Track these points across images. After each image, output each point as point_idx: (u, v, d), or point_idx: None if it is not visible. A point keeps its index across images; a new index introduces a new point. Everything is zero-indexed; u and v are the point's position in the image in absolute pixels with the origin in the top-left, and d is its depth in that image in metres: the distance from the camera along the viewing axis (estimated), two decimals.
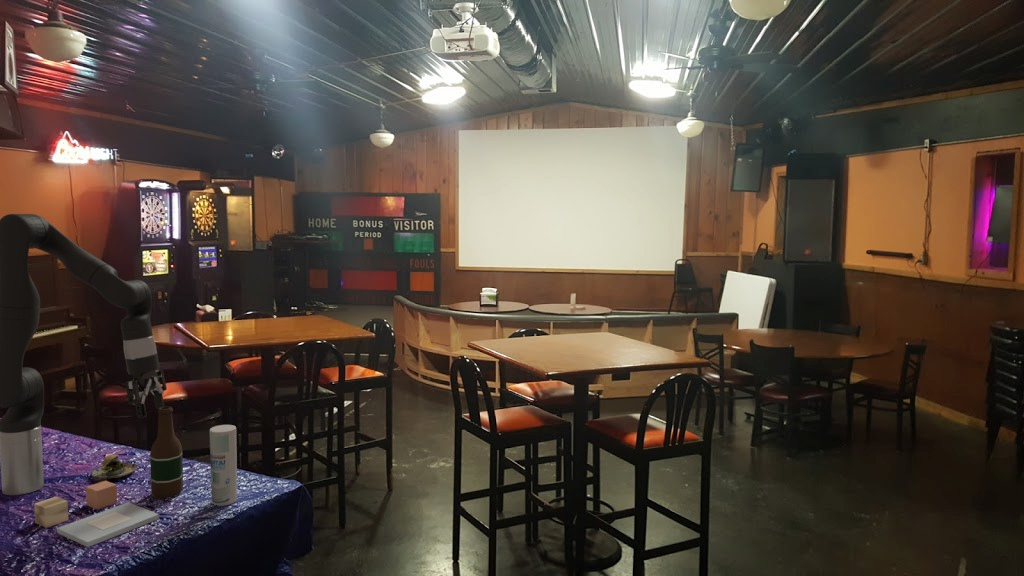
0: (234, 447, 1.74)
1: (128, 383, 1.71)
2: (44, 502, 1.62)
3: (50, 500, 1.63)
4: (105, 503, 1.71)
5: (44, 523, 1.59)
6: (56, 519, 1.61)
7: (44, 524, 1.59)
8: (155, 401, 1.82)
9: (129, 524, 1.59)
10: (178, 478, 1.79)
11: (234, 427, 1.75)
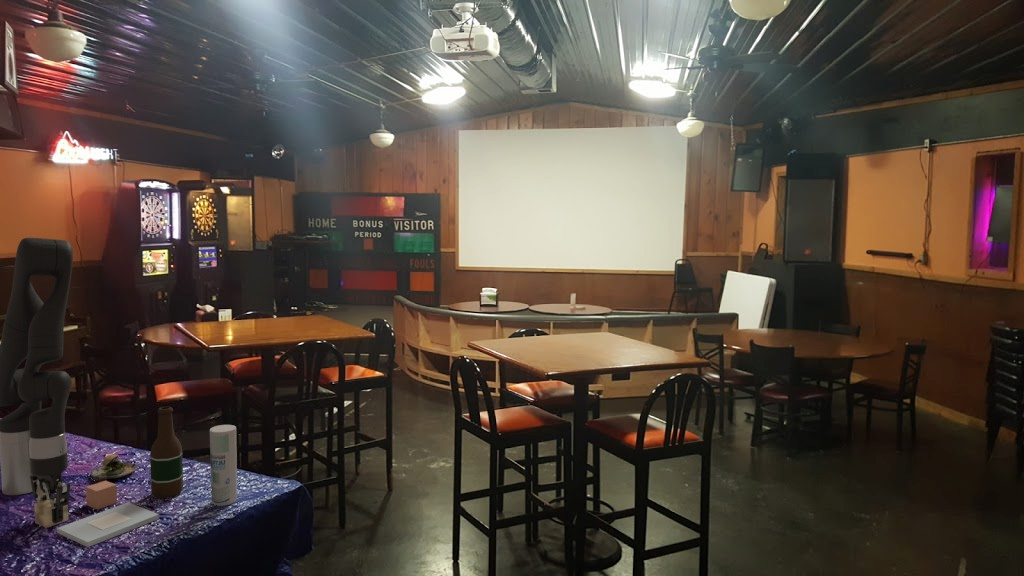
0: (234, 447, 1.74)
1: None
2: (44, 502, 1.62)
3: None
4: (105, 503, 1.71)
5: (44, 523, 1.59)
6: None
7: (43, 524, 1.59)
8: None
9: (129, 524, 1.59)
10: (178, 478, 1.79)
11: (234, 427, 1.75)
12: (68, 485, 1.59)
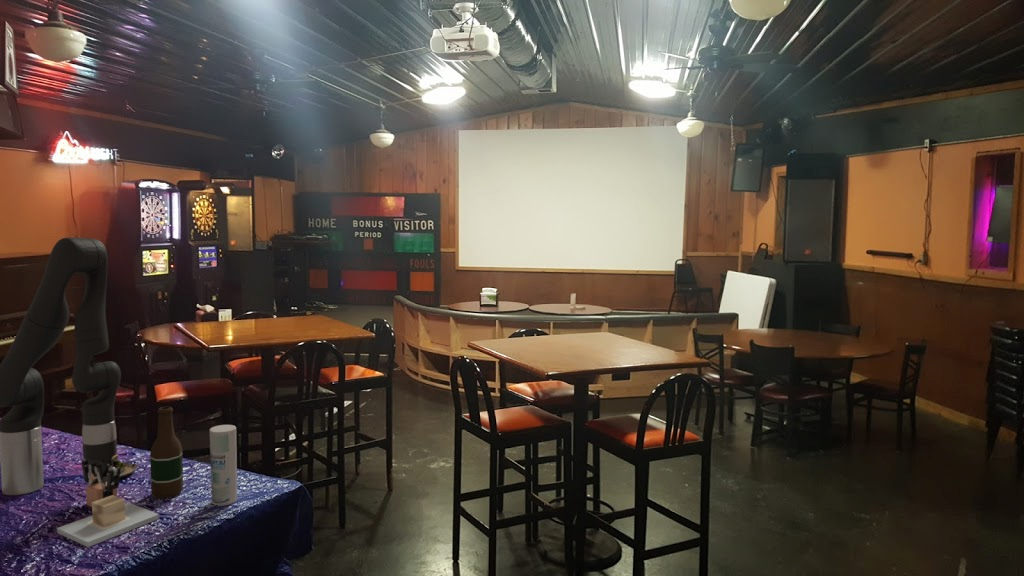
0: (234, 447, 1.74)
1: None
2: (102, 500, 1.60)
3: (106, 498, 1.61)
4: None
5: (103, 522, 1.57)
6: (114, 518, 1.59)
7: (102, 523, 1.58)
8: None
9: (129, 524, 1.59)
10: (178, 478, 1.79)
11: (234, 427, 1.75)
12: (118, 469, 1.69)
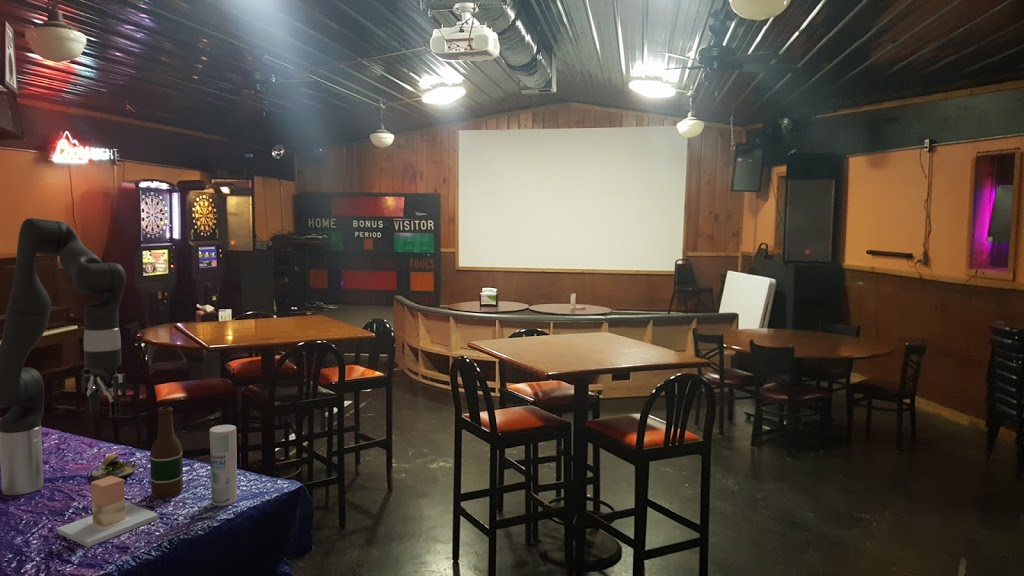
0: (234, 447, 1.74)
1: None
2: None
3: None
4: (112, 499, 1.59)
5: (103, 522, 1.58)
6: (114, 518, 1.59)
7: (102, 523, 1.58)
8: None
9: (129, 524, 1.59)
10: (178, 478, 1.79)
11: (234, 427, 1.75)
12: (123, 375, 1.54)
